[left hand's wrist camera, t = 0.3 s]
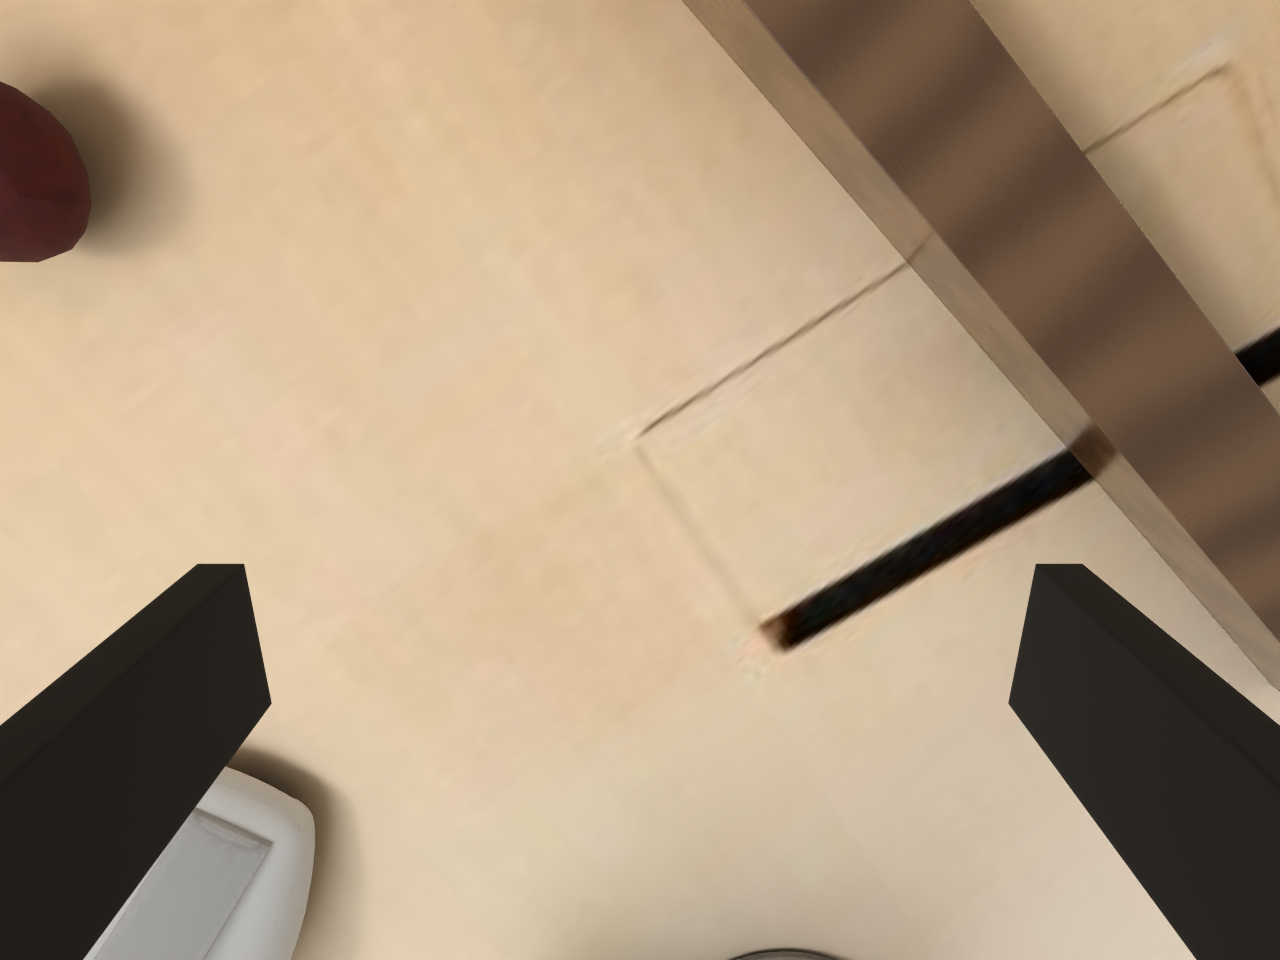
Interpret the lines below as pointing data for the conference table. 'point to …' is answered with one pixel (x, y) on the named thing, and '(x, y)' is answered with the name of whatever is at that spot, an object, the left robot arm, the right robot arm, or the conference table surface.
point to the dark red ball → (38, 182)
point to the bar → (1037, 273)
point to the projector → (222, 881)
